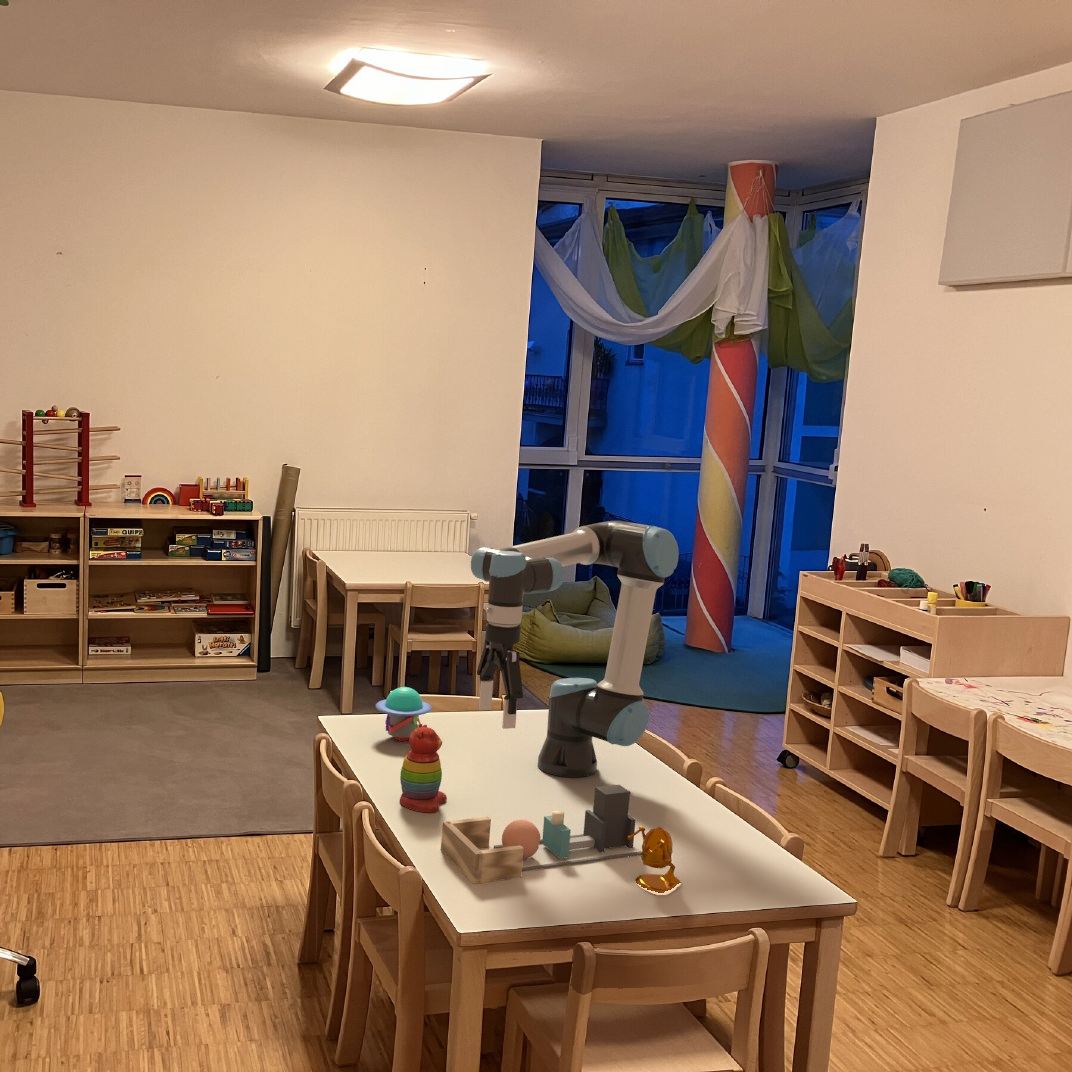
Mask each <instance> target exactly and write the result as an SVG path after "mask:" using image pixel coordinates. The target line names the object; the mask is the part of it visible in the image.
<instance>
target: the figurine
mask: <svg viewBox="0 0 1072 1072" xmlns="http://www.w3.org/2000/svg"><path fill="white" fill-rule="evenodd" d="M645 831H646V828H645V827H643V826H642V825H639V827H638V829H637V830H636V831H635V832H634V833H633V834H632V835H631V836H630V835H628V836H627V838H628V840H629V839H630V840H632V839H633V837H634V838H635V836H637V835H638V834H639V833H640V832H641V836H642V844H641V851H642V854H641V855H640V858H641V861H642V864H643V866H648V867H650V868H652V869H664V868H666V867H669V868H668V870H667V872H666V873H665V874H657V873H654V874H653V873H642V874H639V875H638V876H636V877H635V880H634V882H635V881H636V882H635V884H636V883H637V884H639V885H641V887H643V888H647V890H651V891H655V892H658V893H664V892H665V891H668V890H671V889H672V888H674V887H675V886H676V885H677V884H679V883H682V882H681V880H680V879H679V878H678V877H676V876H675V874H674V873H675V870H676V865H675V864H674V863H673V862H672V860H673V858H672V854H673V851H674V850H673V844H674V843H673V840H672V835H671V834H670V832H669V831H667V830H666V829H665V828H664V827H663V828H662V827H661V826H657V827H654V828H651V829H649V831H648V832H646V833H645ZM637 884H636V885H637Z"/></svg>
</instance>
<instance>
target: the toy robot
mask: <svg viewBox="0 0 1072 1072" xmlns="http://www.w3.org/2000/svg"><path fill="white" fill-rule="evenodd" d="M375 709H376V710H378V711H380V712H381V713H385V714H386V719H385V731H386V732H387V733H388V734H387V735H389V736H392V737H393V738H394V737H395V738H394V739H395V740H396V741H402V742H405V741H409V738H410V735H411V733H412V732H413V731H414V730H415V729H417V728H420V727H422V726H423V723H421V720H420V717H419V716H422V715H425V714H428V713H430V712H431V711H432V710H433V707H432V706H431V704H430V703H429V702H427V701H426V702H425V701H423V699H422V697H421V695H420V693H418V691H416V690H415V689H413V688H411V687H407V686H401V687H398V688H395V689H393V690H392V691H391V692H390V693H389V694H388V695H387V697H386V699H383V700H379V701H378V702H376V703H375Z"/></svg>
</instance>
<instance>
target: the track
mask: <svg viewBox="0 0 1072 1072" xmlns="http://www.w3.org/2000/svg"><path fill="white" fill-rule="evenodd" d="M582 836H583V834H582V833H581V834H575V835H570V838H574V837H582ZM540 844H542V839H541V838H540V843H539V845H540ZM496 848H503V845H502V844H495V845H493V849H496ZM641 854H642V850H639V851H632V852H625V853H619V854H611V855H602V856H595V857H588V858H582V859H581V858H580V859H574V860H567V861H566V860H565V861H560V862H552V863H544V864H538V865H530V866H524V867H523V866H522V873H523V872H529V871H536V870H537V871H538V870H543V869H544V870H545V869H550V868H551V869H552V868H558V867H565V866H573V865H581V864H586V863H587V864H588V863H594V862H601V861H609V860H615V859H624V858H630V856H631V857H637V855H638V856H641ZM628 856H629V857H628Z"/></svg>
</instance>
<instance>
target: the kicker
mask: <svg viewBox="0 0 1072 1072" xmlns="http://www.w3.org/2000/svg"><path fill="white" fill-rule="evenodd" d="M593 797H594V798H593V808H592V811H591V809H586V810H585V812H584V825H583V832H582V833H583V836H582V837H574V838H570V836H571V828H569V827H568V826H567V825H565V824H564V823H565V821H564V820H565V812H564V811H562V810H559V809H558V810H557V809H556V810H553V811H551V815H544V817H543V826H542V827H543V829H542V843H541V844H542V845H543V846H545V848H547V849H548V850H549V851H550V852H551V853H553V854H554V855H555V856H556V857H558V859H567V858H569V856H570V855H569V854H570V853H569V852H570V851H572V850H580V849H587V848H594V849H595V850H596V851H598V852H599V853H605V852H606V851H605V850H606V849H612V848H620V847H626V848H627V849H633V848H634V841H635V836H634V837H633V839H632V840H630V839H629V840H628V838H627V836H628V835H630V836H631V835H632V834H633V833H635V832H636V831H635V830H636V821H637V820H636V818H635V817H633V816H632V815H630V814H629V809H630V808H629V807H630V797H631V791H629V790H628V789H626V788H625V787H624V786H622V785H621V784H612V785H604V786H596V787H595V786H594V796H593Z"/></svg>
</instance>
